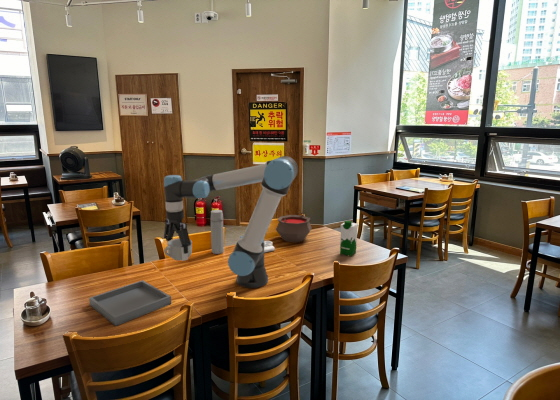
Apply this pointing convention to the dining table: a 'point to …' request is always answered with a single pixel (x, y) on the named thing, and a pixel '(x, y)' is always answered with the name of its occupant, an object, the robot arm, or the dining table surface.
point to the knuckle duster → (268, 246)
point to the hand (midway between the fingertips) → (178, 256)
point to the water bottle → (217, 232)
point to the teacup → (176, 249)
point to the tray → (129, 302)
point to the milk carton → (348, 238)
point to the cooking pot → (293, 227)
